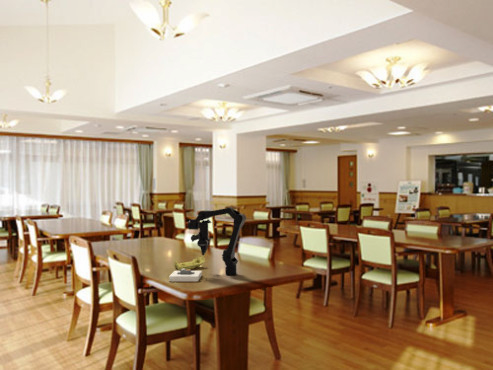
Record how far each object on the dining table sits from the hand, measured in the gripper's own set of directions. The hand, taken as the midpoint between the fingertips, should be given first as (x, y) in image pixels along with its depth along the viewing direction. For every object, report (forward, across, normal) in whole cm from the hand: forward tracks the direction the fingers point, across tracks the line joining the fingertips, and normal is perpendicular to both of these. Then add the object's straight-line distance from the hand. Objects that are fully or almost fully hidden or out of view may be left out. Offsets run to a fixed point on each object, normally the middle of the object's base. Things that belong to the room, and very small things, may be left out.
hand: (204, 254), depth 270 cm
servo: (+12, +17, -9) cm, 22 cm away
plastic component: (+12, -14, -12) cm, 22 cm away
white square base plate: (+12, +17, -9) cm, 22 cm away
